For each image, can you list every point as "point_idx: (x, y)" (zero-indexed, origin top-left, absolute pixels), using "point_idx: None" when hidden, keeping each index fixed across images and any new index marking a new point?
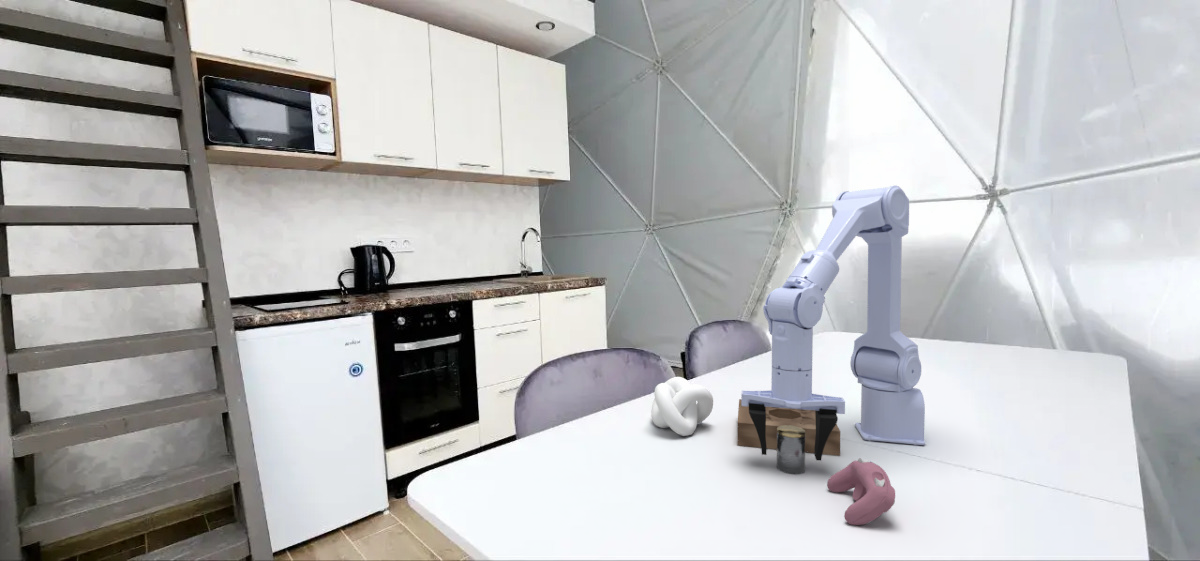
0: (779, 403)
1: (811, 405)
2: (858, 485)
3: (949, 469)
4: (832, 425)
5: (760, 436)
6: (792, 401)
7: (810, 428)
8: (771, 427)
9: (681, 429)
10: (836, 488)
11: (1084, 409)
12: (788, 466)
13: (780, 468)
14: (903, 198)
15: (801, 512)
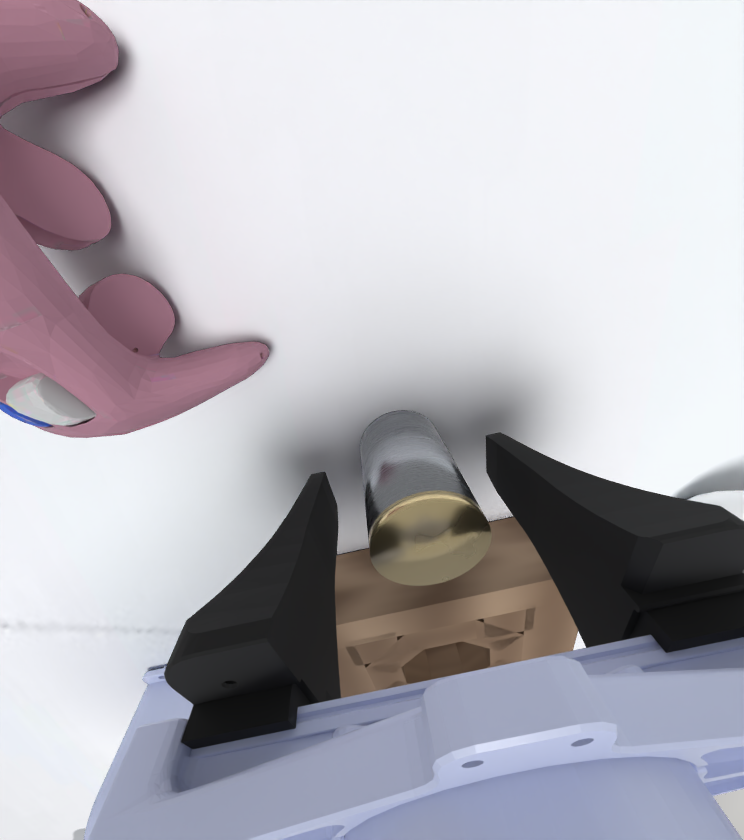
0: (627, 688)
1: (330, 753)
2: (132, 335)
3: (54, 605)
4: (213, 605)
5: (553, 463)
6: (530, 765)
7: (367, 620)
8: (482, 586)
9: (735, 498)
10: (235, 343)
11: (4, 831)
12: (406, 421)
13: (428, 420)
14: None
15: (315, 75)
